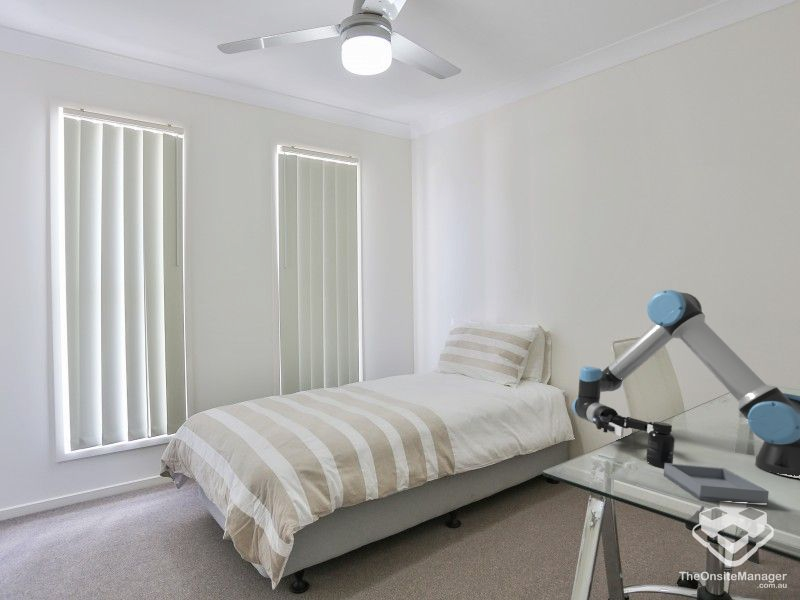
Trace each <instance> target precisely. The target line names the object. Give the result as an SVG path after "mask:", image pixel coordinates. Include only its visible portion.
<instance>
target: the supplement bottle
mask: <svg viewBox="0 0 800 600" xmlns="http://www.w3.org/2000/svg"><path fill="white" fill-rule="evenodd" d="M652 423H653V431H650V432H649V433H647V434H648V435H647V446H646V448H647V449H646V460H647V461H646V460H645V461H646V463H647V462H649V463H650V464H652V465H651V466H653V465H654V466H653V467H656V466H657V468H662V469H664V466H665V463H672V464H674V455H675V454H674V452H675V444H676V443H675V441H676V439H675V436H674V435H673V433H672V432H673V430H672V429H673V426H672V424H671V423H666V422H662V421H653V422H652ZM649 463H648V464H649ZM650 464H649V465H650Z"/></svg>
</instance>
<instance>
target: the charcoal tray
mask: <svg viewBox="0 0 800 600" xmlns="http://www.w3.org/2000/svg"><path fill="white" fill-rule="evenodd" d="M663 476H664V478H666V477H667V478H666V479H668V480H669V481H671V482H672V483H673V484H675V485H677V486H678V485H679V486H678V487H680V488H681V489H683V490H684V491H686V492H687V493H689V494H690V495H691V496H693V497H694V498H695V499H698V500H699V501H706V502H715V503H717V502H716V501H732V502H748V503H769V490H767V489H765V488H763V487H762V486H759V485H757V484H755V483H754V482H751V481H750V480H747V478H744V477H742V476H740V475H738V474H736V473H734V472H732V471H731V470H729V469H727V468H725V467H717V466H703V465H691V464H681V463H673V464H672V463H665V466H664V468H663Z"/></svg>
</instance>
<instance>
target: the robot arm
mask: <svg viewBox="0 0 800 600" xmlns="http://www.w3.org/2000/svg"><path fill="white" fill-rule="evenodd" d="M646 311H647V315H648V318H649V320H650V321H651V322H653V323H654V324H653V325H652V326H651V327H649V328H648V329H647V330H646V331H645V332H644V333H643V334H642V335H641V336H640V337H639V338H638V339H636V340H635V341H634V342H633V343H632V344H630V346H629V347H627V349H625V350H624V351H623V352H622V353H620V355H619V356H617V357H616V358H617V359H616V358H615V359H616V360H615V359H614V360H613V361H612V362H611V363H610V364H609V365H608V366H607V367H605V368H604V369H603V370H602V369H601V368H600V367H595V366H582V367H581V368H580V372H579V373H580V374H579V378H578V379H579V381H578V395H577V397H576V398H574V400H573V402H572V405H571V409H572V411H573V414H575V415H576V416H577V417H579V418H581V419H583V420H585V421H587V422H589V423H592V424H594V425H595V426H596V429H597V430H600V431H601V430H602V429H603V431H602V432H603V433H608V432H610V433H612V434H614V435H616V436H618V437H621V438H623V437H624V430H625V429H633V430H638V431H643V432H646V433H647V434H649V432H650V431H653V422H652V421H648V422H647V421H644V420H641V419H636V418H632V417H631V416H626V417H625V416H622V415H620V414H618V412H617V410H616V409H614V408H612V407H610V406H607V405H606V404H602V403H600V401H601V393H602V392H614V391H617V390H618V389H620V388H621V387H622V384H623V382H624V381H625V380H626V379H627V378H628V377H629V376H631V375H632V374H633V373H635V371H636V370H638V369H640V367H641V366H643V365H644V364H645V363H646V362H647V361H648V360H649V359H651V358H652V357H653V356H654V355H655V354H656V353H658V351H660V350H661V349H662V348H664V346H665V345H667V344H668V343H669V342H670V341H671V340H673V339H680V340H681V341H682V342H683V343H684V344H685V345H686V347H687V348H688V349H689V350H690V351H691V352H692V354H694V355H695V356H696V357H697V359H699V361H700V362H701V363H703V365H704V366H705V367H706V368H707V369H708V370H709V372H711V374H712V375H713V376H714V377H715V378H716V379H717V380H718V381H719V382H720V383H721V384H722V385H723V386H724V388H725V389H726V391H729V393H730V394H731V395H732V396H733V398H735V399H736V400H737V402H738V407H737V408H738V411H739V412H740V413H741V415H743V416H744V417H745V418H746V419H747V423H748V426H749V429H750V430H751V432H752V433H753V434H754V435H755V436H756V437H758V438H759V439H760V440H762V441H763V443H762V444H761V446H760V449H759V451H758V453H757V455H756V456H755V461H754V463H755V464H754V465H755V466H756V467H757V468H758V469H761V470H763V471H765V470H767V471H766V472H768V471H771V472H774V473H779V474H787V475H792V476H794V475H795V476H799V475H800V395H796V394H791V393H787V392H786V393H785V392H782V391H781V390H780V389H779V388H778V387H777V386H774V385H769V384H766V383H765V382H764V381H763V379H761V377H759V376H758V375H757V374H756V372H755V371H753V370H752V369H751V368H750V367H749V365H747V363H746V362H744V361H743V360H742V359H741V358H740V357H739V355H738V354H737V353H736V352H735V351H734V350H733V349H731V347H730V346H729V345H728V344H727V343H726V342H725V341H724V340H723V339H722V338H721V337H720V336H719V335H718V334H717V333H716V332H715V331H714V330H713V329H712V328H711V327H710V326H709V325H708V324H707V323H706V322H705V321H706V315H705V313H704V312H702V311H703V309H702V304H701V302H700V301H699V300H698V298H697V297H696V296H694V295H692V294H690V293H687V292H681V291H677V290H672V289H667V290H666V289H665V290H660V291H659V292H657V293H655V294H654V295H652V296H651V298H650V299H649V300H648V303H647V309H646ZM616 362H617V363H616ZM618 368H619V370H618ZM621 378H622V379H621ZM623 380H624V381H623ZM622 381H623V382H622ZM774 473H773V474H774Z"/></svg>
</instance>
